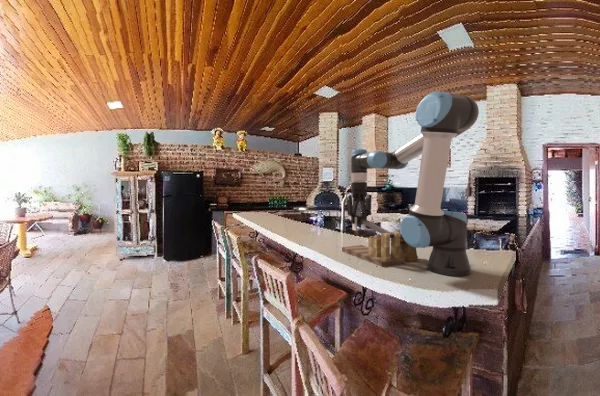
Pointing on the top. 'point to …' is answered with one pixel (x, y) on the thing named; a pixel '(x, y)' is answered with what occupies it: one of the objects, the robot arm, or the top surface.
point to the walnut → (377, 236)
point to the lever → (371, 224)
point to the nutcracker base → (379, 250)
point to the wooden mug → (407, 251)
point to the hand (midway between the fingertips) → (359, 229)
